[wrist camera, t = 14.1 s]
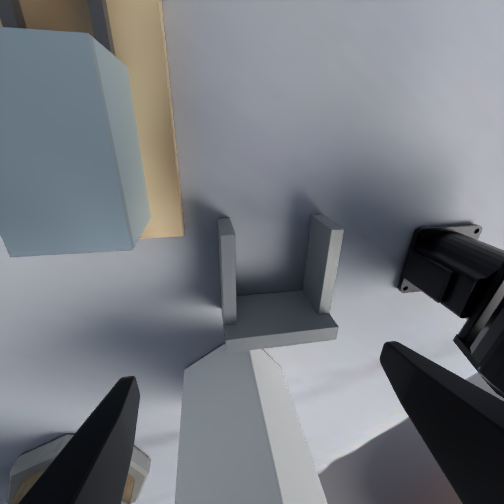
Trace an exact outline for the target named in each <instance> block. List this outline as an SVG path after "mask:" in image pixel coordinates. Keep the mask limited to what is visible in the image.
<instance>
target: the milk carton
mask: <svg viewBox="0 0 504 504" xmlns="http://www.w3.org/2000/svg"><path fill="white" fill-rule="evenodd" d="M175 504H327V501H326V498H325V495H324V492H323V489H322V486H321V484H320V480H319V478H318V474H317V471H316V468H315V465H314V462H313V460H312V457H311V454H310V451H309V448H308V445H307V442H306V439H305V436H304V433H303V430H302V427H301V424H300V421H299V418H298V415H297V412H296V409H295V406H294V403H293V400H292V397H291V394H290V391H289V388H288V385H287V382H286V380H285V377H284V374H283V371H282V369H281V368H280V367H279V366H278V365H277V364H276V363H275V362H274V361H273V360H272V359H271V358H270V357H269V356H268V355H267V354H266V353H265V352H264V351H263V350H262V349H256V350H248V351H241V352H233V353H226V344H223V345H222V346H220V347H219V348H217V349H216V350H214V351H212V352H211V353H209V354H208V355H206V356H205V357H203V358H202V359H200V360H199V361H197V362H195V363H194V364H192V365H191V366H189V367H188V368H186V369H185V371H184V380H183V394H182V408H181V422H180V436H179V451H178V465H177V479H176V493H175Z"/></svg>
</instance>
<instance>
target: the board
mask: <svg viewBox="0 0 504 504" xmlns="http://www.w3.org/2000/svg"><path fill="white" fill-rule="evenodd" d="M19 2H20V6H21V10H22V13H23V17H24V20H25V24H26V27H27V29H37V30H52V31H66V32H80V33H89V34H90V35H91V36H92V37H93V38H94V33H93V28H92V22H91V17H90V12H89V7H88V2H87V0H19ZM106 4H107V10H108V16H109V21H110V27H111V33H112V39H113V45H114V50H115V56H116V57H117V58H118V59H119V60H120V61H121V62H122V63H124V64H125V65H126V66H127V69H128V75H129V82H130V88H131V94H132V101H133V107H134V113H135V119H136V126H137V132H138V138H139V144H140V151H141V157H142V163H143V170H144V176H145V182H146V188H147V195H148V201H149V207H150V213H151V218H150V220H149V222H148V223H147V225H146V227H145V229H144V230H143V232H142V234H141V236H140V237H139V239H142V238H162V237H182V236H184V231H185V226H184V216H183V207H182V197H181V187H180V177H179V167H178V158H177V148H176V138H175V128H174V118H173V109H172V99H171V89H170V79H169V70H168V60H167V50H166V40H165V30H164V21H163V11H162V1H161V0H106ZM0 27H3V26H2V23H1V20H0ZM94 39H95V38H94Z"/></svg>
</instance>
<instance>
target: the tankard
mask: <svg viewBox="0 0 504 504" xmlns="http://www.w3.org/2000/svg"><path fill="white" fill-rule="evenodd" d="M73 435H74V434H67V435H65V436H62V437H60V438H58V439H56V440H54V441H51V442H49V443H47V444H45V445H43V446H40V447H38V448H36V449H34V450H31V451H29V452H27V453H25V454H23V455H21V456H18V458H17V460H16V462H15V463H14V465H13V467H12V469H11V471H10V474H9V484H8V494H7V504H18V502H19V501H20V500H21V499H22V498H23V496H24V495H25V494H26V493H27V491H28V490H29V489H30V488H31V487H32V485H33V484H34V483H35V482H36V480H37V479H38V478H39V477H40V476H41V474H42V473H43V472H44V471H45V470H46V468H47V467H48V466H49V465H50V463H51V462H52V461H53V460H54V459H55V457H56V456H57V455H58V454H59V452H60V451H61V450H62V449H63V448H64V446H65V445H66V444H67V443H68V442H69V440H70V439H71V438H72V437H73ZM150 461H151V459H150V458H148V457H147V456H146V455H145V454H143V453H142V452H141V451H139V450H138V449H137V448H136V447H134V446H133V453H132V458H131V463H130V467H129V471H128V475H127V480H126V484H125V488H124V493H123V497H122V501H121V504H131V503H133V502H135V501H137V500H138V498H139V495H140V493H141V491H142V488H143V486H144V483H145V481H146V479H147V476H148V474H149V468H150Z"/></svg>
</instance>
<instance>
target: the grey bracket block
mask: <svg viewBox="0 0 504 504" xmlns="http://www.w3.org/2000/svg"><path fill="white" fill-rule="evenodd" d="M87 2H88V7H89V12H90V17H91V22H92V28H93V33H94V38H95V39H94V38H93V37H92V36H91V35H90V34H89V33H80V32H66V31H52V30H37V29H27V27H26V24H25V20H24V17H23V13H22V10H21V6H20V2H19V0H0V20H1V23H2V26H3V27H0V235H1V237H2V239H3V241H4V244H5V246H6V248H7V251H8V253H9V255H10V257H22V256H40V255H57V254H74V253H91V252H108V251H125V250H133V248H134V246H135V244H136V243H137V241H138V239H139V237H140V236H141V234H142V232H143V230H144V229H145V227H146V225H147V223H148V222H149V220H150V218H151V213H150V207H149V201H148V195H147V188H146V182H145V176H144V170H143V163H142V157H141V151H140V144H139V138H138V132H137V126H136V119H135V113H134V107H133V101H132V94H131V88H130V82H129V75H128V69H127V66H126V65H125V64H124V63H122V62H121V61H120V60H119V59H118V58H117V57H116V56H115V50H114V45H113V39H112V33H111V27H110V21H109V16H108V10H107V4H106V0H87Z"/></svg>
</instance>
